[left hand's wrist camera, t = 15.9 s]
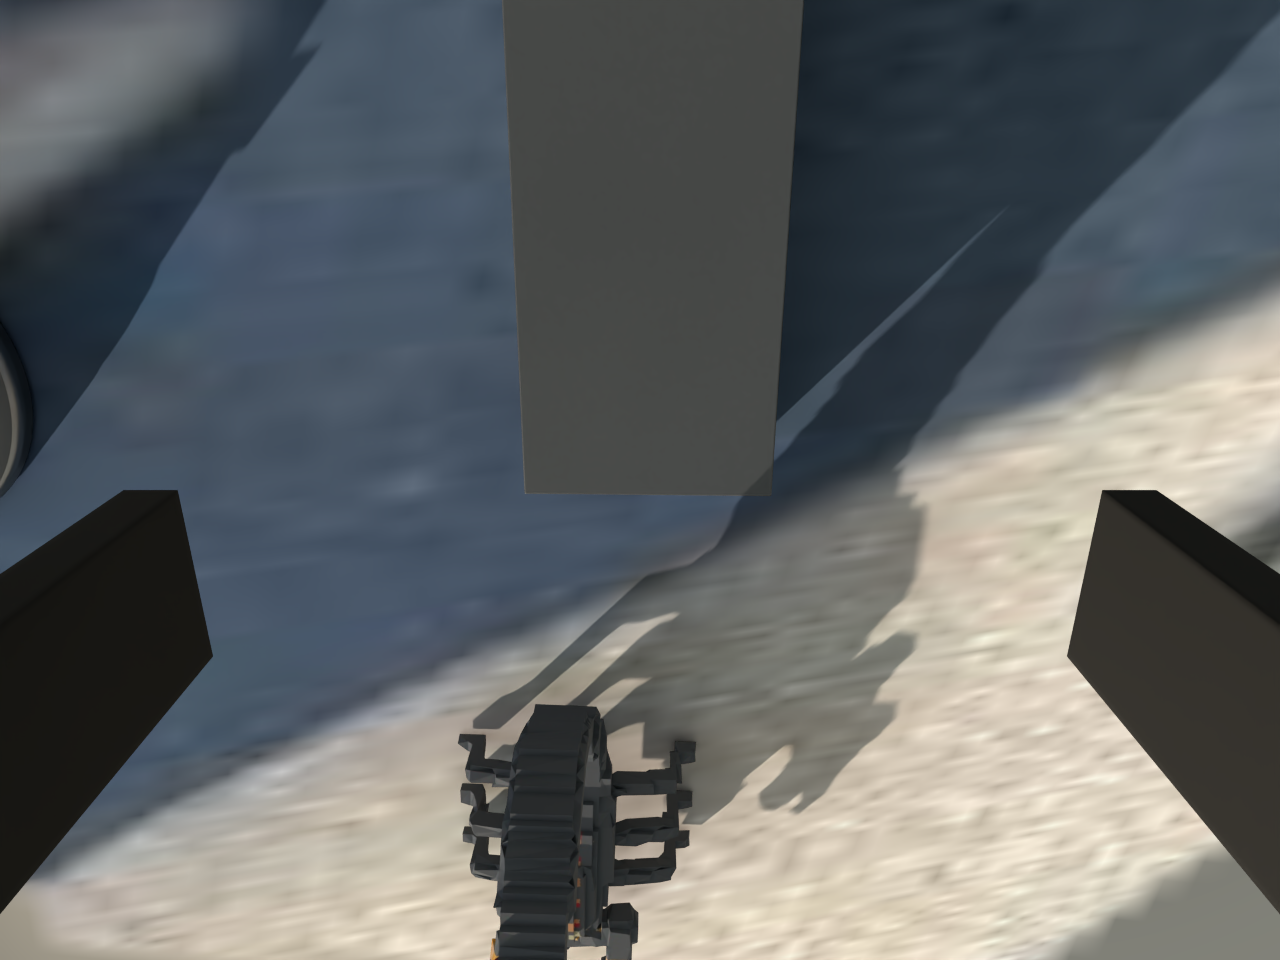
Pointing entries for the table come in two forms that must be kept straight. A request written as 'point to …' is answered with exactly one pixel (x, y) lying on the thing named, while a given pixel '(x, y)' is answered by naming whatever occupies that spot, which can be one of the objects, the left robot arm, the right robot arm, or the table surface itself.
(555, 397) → the thick board
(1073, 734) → the table surface
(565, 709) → the toy
